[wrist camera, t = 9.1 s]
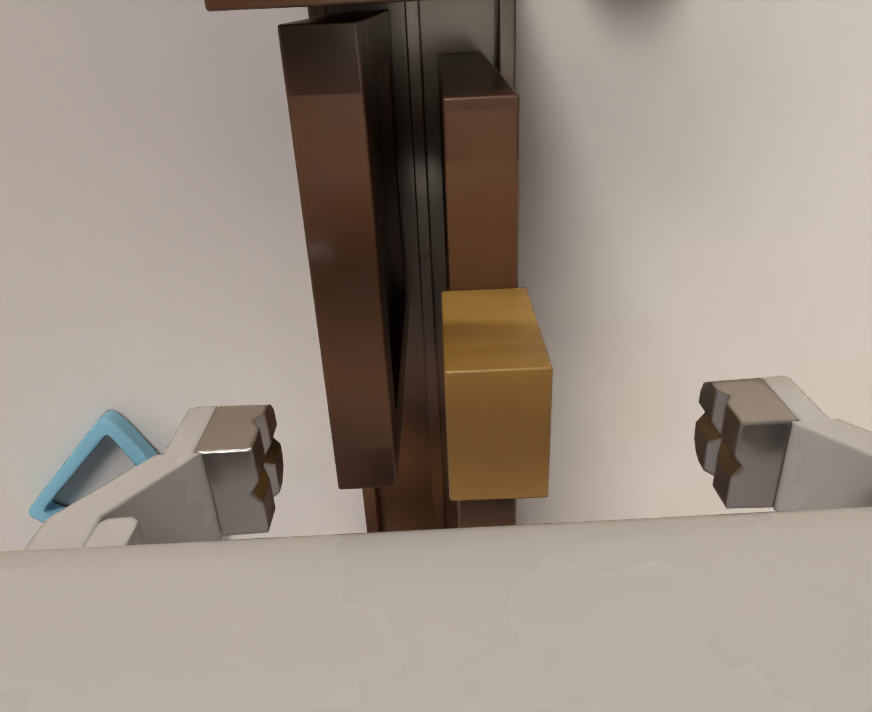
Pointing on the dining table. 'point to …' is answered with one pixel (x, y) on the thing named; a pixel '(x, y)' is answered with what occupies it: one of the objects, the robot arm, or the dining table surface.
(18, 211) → the dining table surface
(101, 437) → the chair
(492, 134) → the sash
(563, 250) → the dining table surface
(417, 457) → the window frame
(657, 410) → the dining table surface
